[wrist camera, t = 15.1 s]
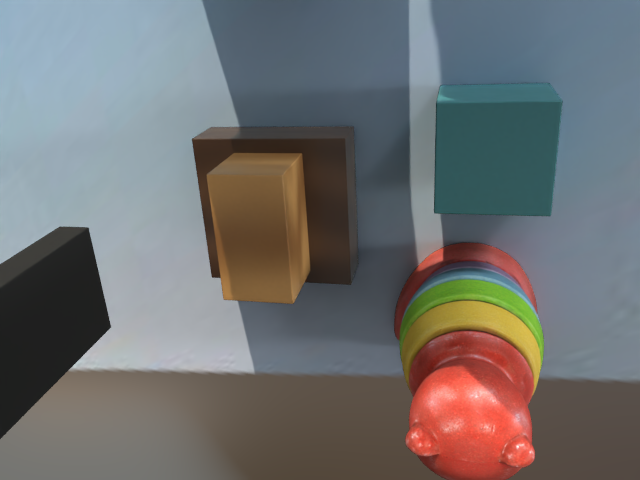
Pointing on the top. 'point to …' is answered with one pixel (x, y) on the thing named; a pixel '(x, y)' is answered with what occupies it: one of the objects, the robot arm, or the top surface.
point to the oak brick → (260, 226)
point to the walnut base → (320, 189)
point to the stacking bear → (470, 362)
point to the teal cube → (496, 149)
